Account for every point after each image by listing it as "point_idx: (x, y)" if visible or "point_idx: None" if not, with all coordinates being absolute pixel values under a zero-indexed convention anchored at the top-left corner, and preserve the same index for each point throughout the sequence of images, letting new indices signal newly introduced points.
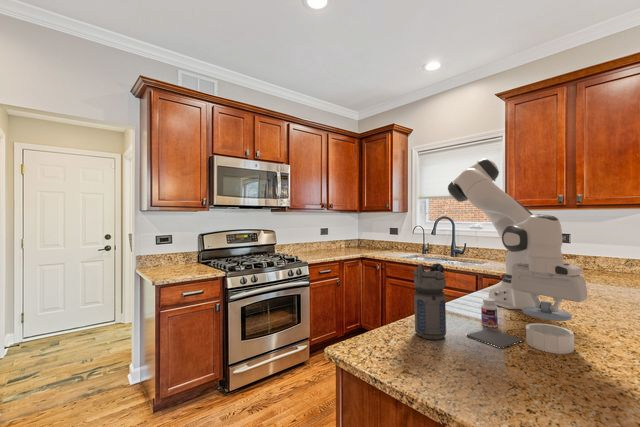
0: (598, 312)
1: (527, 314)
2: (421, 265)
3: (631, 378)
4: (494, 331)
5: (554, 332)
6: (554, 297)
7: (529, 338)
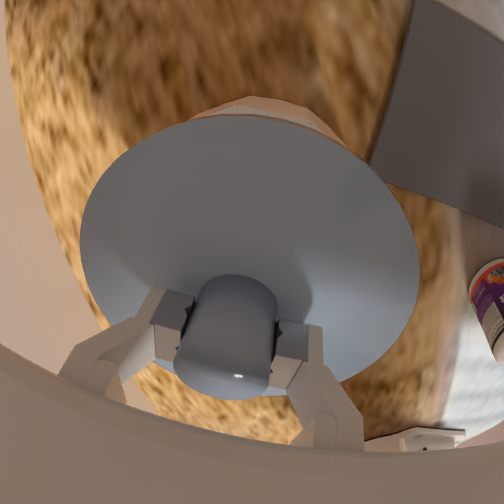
0: None
1: (364, 162)
2: None
3: (18, 99)
4: (484, 203)
5: None
6: (70, 383)
7: (332, 133)
